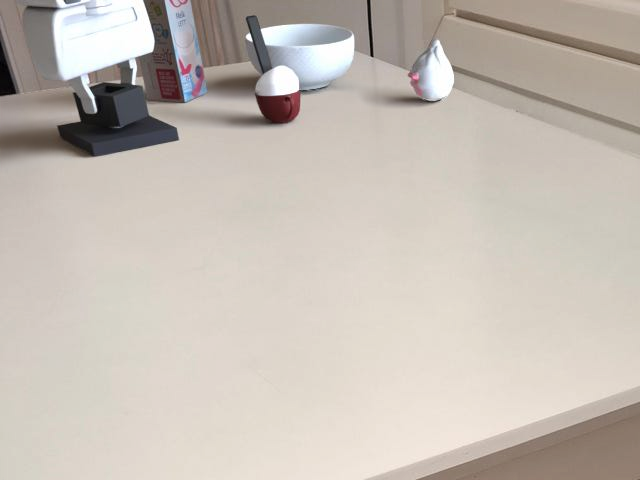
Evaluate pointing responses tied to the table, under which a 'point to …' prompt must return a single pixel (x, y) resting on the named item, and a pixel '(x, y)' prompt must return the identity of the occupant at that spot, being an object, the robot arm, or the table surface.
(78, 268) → the table surface
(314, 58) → the cereal bowl
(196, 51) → the milk carton
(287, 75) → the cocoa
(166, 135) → the base pad
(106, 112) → the black box
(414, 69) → the figurine
